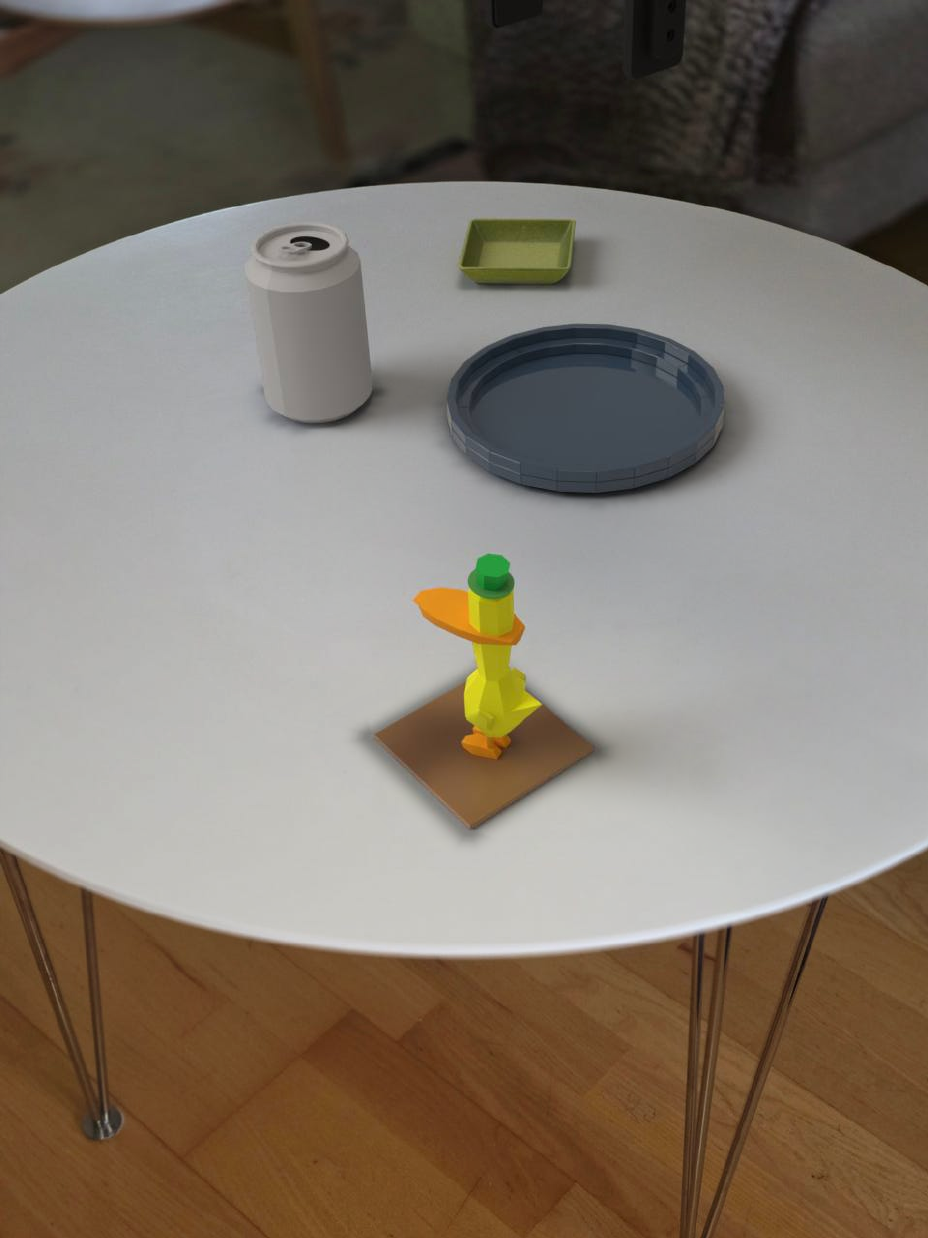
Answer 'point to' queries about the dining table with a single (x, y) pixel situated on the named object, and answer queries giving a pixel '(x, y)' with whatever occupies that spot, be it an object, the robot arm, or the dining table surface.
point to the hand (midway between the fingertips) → (580, 44)
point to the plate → (585, 407)
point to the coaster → (476, 781)
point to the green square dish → (517, 250)
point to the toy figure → (485, 651)
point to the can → (309, 321)
